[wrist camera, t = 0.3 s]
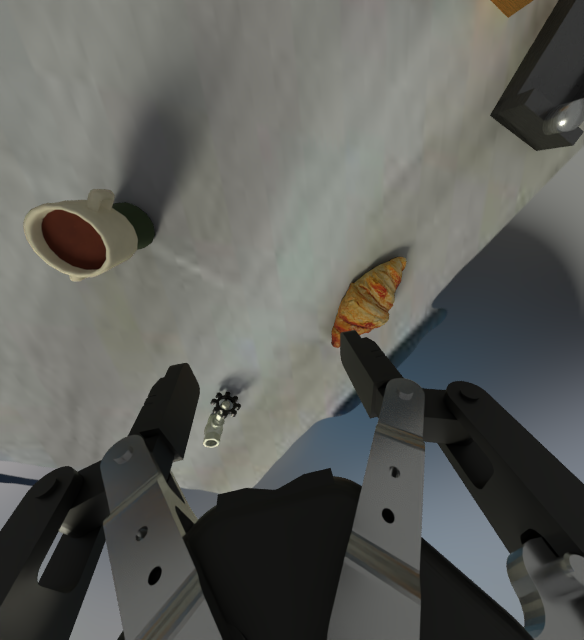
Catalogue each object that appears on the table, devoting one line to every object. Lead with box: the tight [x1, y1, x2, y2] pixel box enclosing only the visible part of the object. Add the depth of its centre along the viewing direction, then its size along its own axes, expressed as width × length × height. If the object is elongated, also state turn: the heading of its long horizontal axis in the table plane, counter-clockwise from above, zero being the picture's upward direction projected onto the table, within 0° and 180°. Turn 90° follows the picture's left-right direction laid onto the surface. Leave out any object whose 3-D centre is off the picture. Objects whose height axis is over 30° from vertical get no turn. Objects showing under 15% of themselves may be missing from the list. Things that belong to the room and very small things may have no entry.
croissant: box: [331, 257, 407, 348], centre depth 42 cm, size 21×10×8 cm, turn 149°
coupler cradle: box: [490, 0, 584, 151], centre depth 28 cm, size 15×11×7 cm
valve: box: [203, 392, 241, 448], centre depth 52 cm, size 7×7×12 cm
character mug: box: [24, 189, 155, 282], centre depth 27 cm, size 11×7×13 cm, turn 146°
